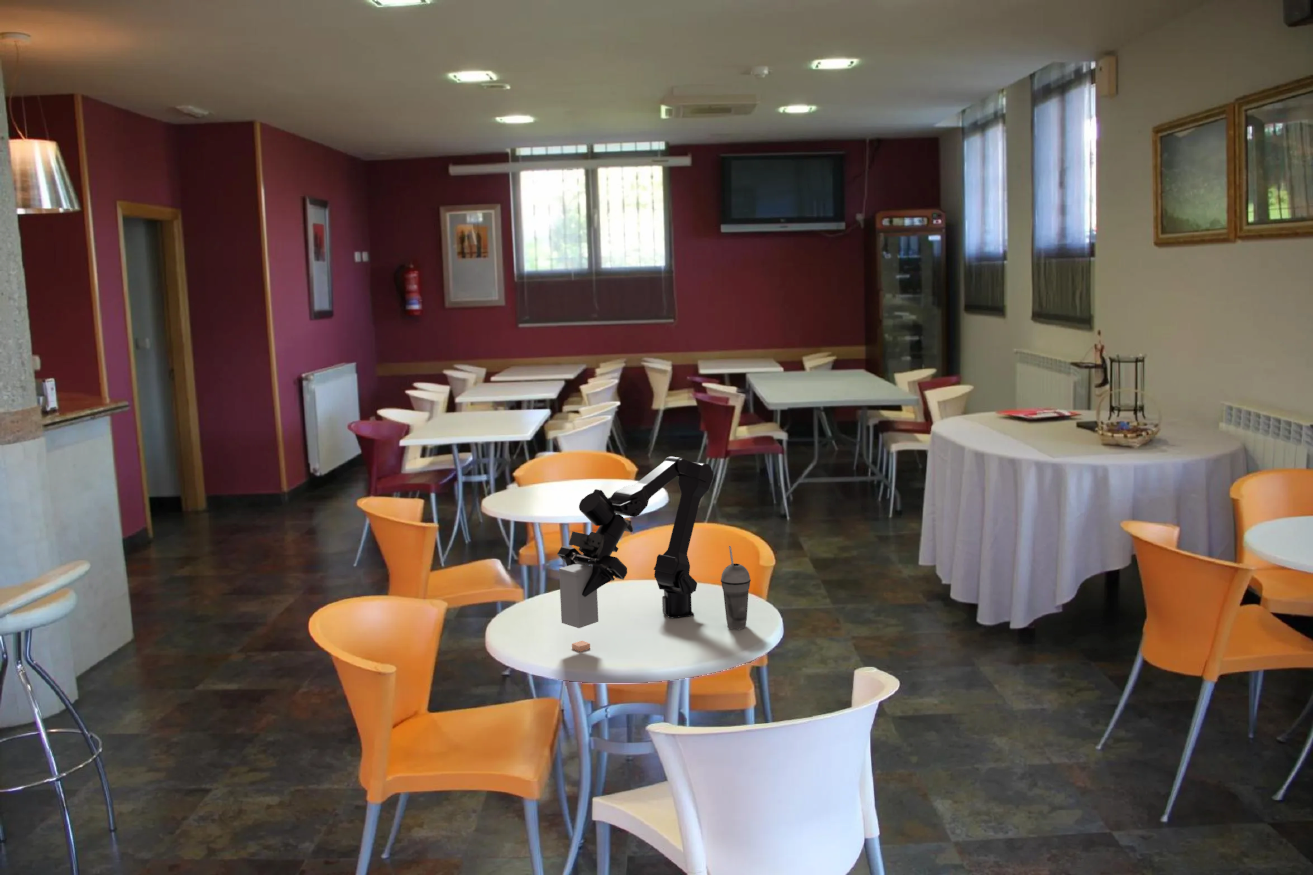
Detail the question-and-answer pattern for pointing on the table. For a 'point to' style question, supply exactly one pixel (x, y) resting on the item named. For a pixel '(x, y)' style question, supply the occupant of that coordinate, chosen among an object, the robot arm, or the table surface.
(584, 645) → the terracotta block
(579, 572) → the smooth gray cuboid
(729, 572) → the beverage cup
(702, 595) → the table surface
